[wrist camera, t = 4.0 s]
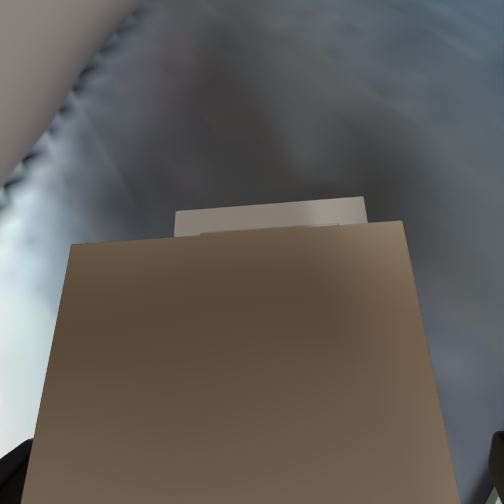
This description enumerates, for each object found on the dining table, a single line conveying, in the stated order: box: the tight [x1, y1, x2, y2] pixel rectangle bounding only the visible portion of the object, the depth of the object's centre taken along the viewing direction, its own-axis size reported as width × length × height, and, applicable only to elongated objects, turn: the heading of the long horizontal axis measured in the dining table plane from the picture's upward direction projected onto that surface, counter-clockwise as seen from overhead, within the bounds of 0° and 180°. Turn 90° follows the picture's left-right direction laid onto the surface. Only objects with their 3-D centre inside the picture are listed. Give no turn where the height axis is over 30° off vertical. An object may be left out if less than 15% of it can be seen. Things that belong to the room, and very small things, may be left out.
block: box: [21, 221, 461, 504], centre depth 10 cm, size 5×5×12 cm
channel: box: [174, 196, 368, 237], centre depth 15 cm, size 13×8×2 cm, turn 1°
